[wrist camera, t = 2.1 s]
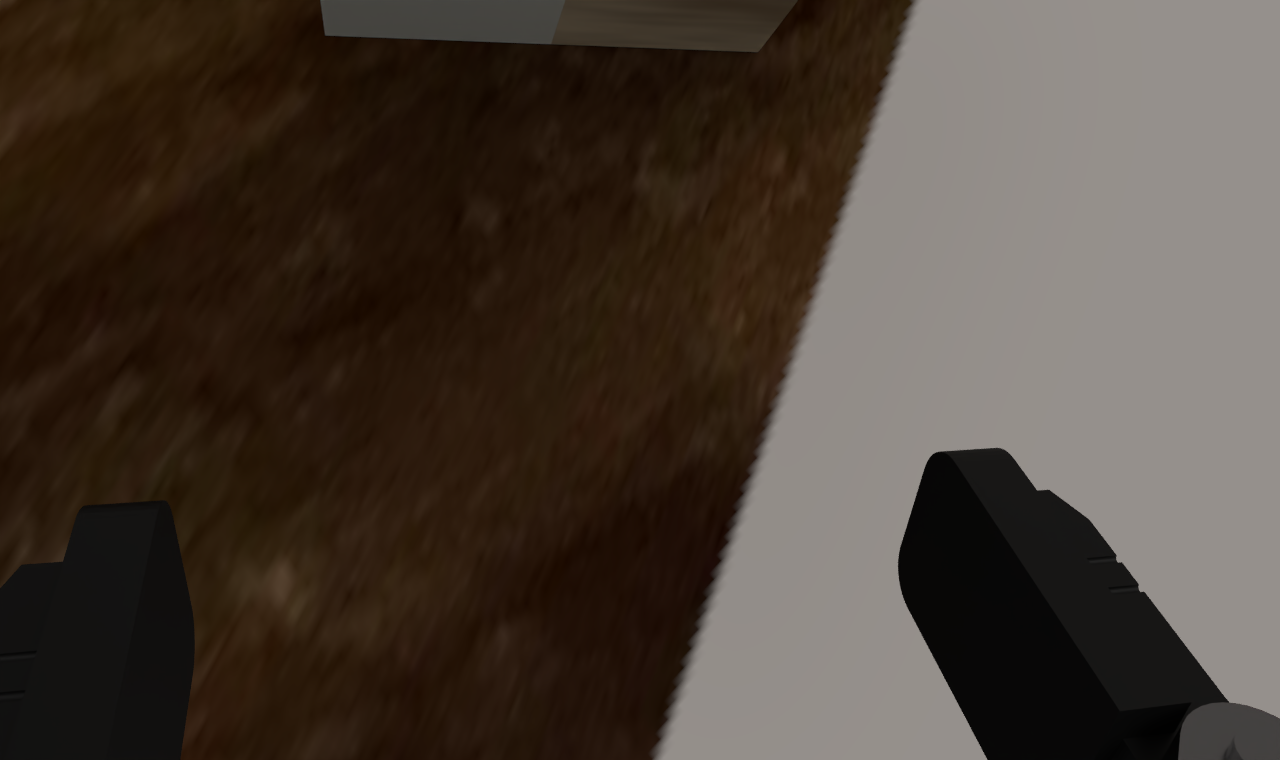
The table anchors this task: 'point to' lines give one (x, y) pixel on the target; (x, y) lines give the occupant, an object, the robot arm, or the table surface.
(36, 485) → the table surface
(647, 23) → the wood grain block
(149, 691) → the robot arm
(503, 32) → the tall step
